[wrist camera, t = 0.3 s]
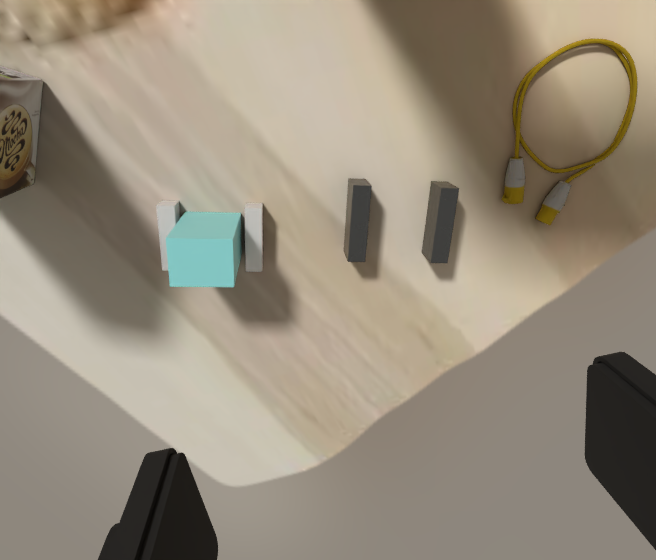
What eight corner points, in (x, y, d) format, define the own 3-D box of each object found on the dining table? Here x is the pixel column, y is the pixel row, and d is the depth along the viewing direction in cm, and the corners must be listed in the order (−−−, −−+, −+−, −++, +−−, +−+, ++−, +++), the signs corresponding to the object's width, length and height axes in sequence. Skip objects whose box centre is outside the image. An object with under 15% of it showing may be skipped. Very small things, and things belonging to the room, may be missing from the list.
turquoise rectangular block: (185, 211, 43) (165, 238, 36) (240, 212, 43) (232, 239, 36) (188, 253, 44) (169, 286, 37) (241, 253, 45) (234, 287, 38)
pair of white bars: (161, 200, 42) (156, 205, 40) (262, 203, 43) (261, 208, 41) (167, 262, 45) (162, 270, 43) (262, 264, 46) (262, 271, 44)
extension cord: (451, 151, 44) (459, 154, 42) (586, 7, 40) (601, 3, 38) (531, 232, 47) (541, 238, 46) (661, 108, 44) (677, 109, 42)
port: (348, 178, 43) (353, 184, 40) (447, 181, 44) (459, 188, 41) (343, 250, 46) (347, 261, 43) (437, 252, 47) (447, 263, 44)
